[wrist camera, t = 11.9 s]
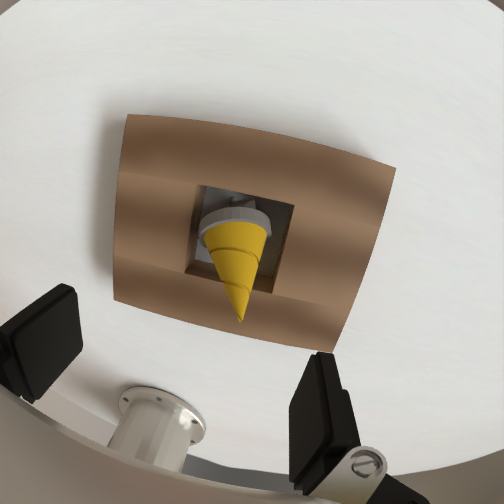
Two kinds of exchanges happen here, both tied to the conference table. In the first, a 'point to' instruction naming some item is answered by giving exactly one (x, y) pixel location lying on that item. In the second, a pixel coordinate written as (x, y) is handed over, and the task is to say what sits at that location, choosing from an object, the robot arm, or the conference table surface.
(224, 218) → the drill bit
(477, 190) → the conference table surface
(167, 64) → the conference table surface
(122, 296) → the holder block
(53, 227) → the conference table surface
